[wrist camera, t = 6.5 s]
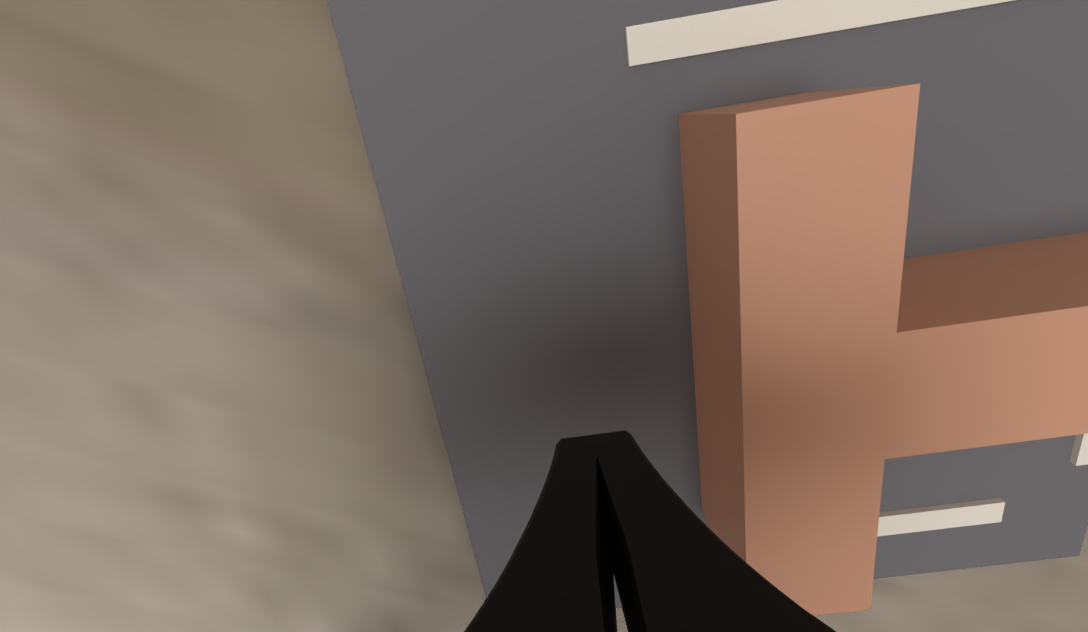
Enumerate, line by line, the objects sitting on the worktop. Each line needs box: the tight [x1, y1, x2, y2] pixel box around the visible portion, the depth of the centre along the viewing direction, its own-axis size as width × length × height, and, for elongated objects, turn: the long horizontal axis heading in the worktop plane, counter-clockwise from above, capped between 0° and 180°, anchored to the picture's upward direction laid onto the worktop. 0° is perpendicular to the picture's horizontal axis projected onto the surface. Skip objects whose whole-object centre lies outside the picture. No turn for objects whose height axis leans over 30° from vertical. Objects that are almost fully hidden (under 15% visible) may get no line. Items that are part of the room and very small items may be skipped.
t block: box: [678, 83, 1088, 616], centre depth 12 cm, size 12×11×4 cm
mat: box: [327, 0, 1088, 608], centre depth 14 cm, size 20×20×1 cm
